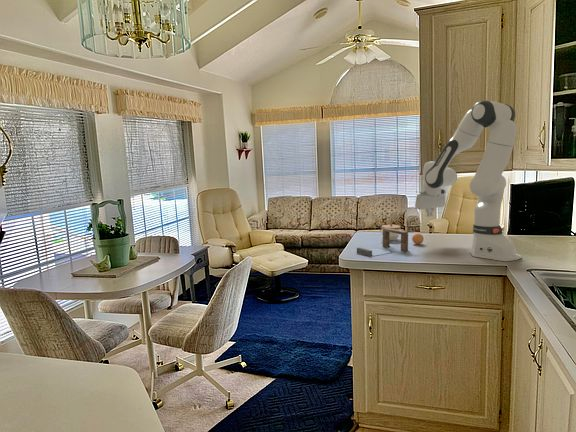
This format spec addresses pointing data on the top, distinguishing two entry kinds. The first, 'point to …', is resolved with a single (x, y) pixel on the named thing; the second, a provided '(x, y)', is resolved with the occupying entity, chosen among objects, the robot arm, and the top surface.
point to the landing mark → (378, 252)
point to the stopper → (364, 251)
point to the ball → (417, 238)
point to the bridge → (403, 233)
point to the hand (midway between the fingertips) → (429, 216)
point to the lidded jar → (392, 235)
